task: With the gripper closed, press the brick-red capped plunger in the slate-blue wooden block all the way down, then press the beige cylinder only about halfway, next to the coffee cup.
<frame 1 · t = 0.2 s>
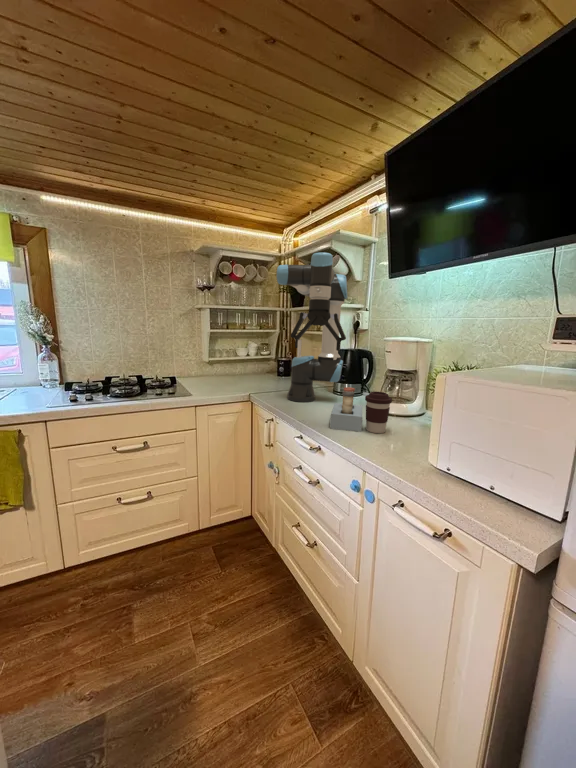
hand: (316, 358, 118), 28 cm above the worktop, fingers open, 13 cm apart
plunger red: (348, 398, 135), point 10 cm above the worktop, slide at 0.0 cm
beige cylinder: (347, 403, 127), point 10 cm above the worktop, slide at 0.0 cm
plunger block: (346, 423, 133), on the worktop
coffee cup: (375, 431, 125), on the worktop
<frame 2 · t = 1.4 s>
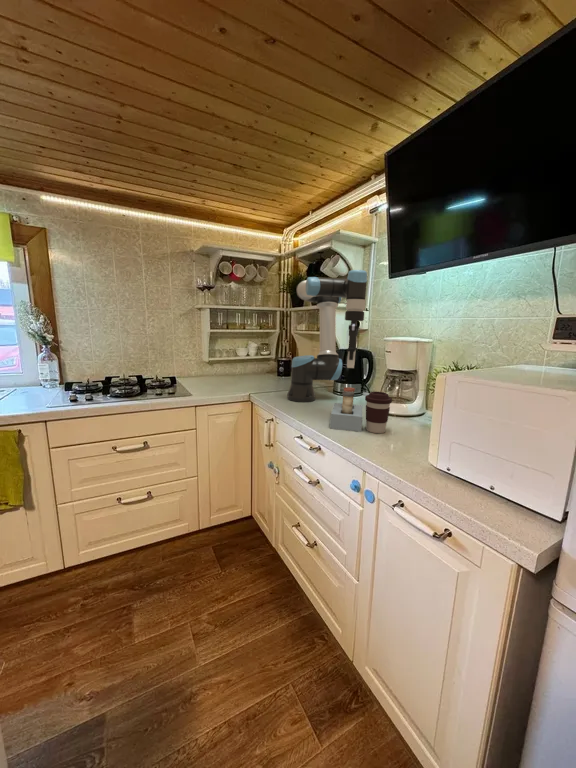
hand: (350, 366, 133), 23 cm above the worktop, fingers open, 9 cm apart
nothing on the worktop moved.
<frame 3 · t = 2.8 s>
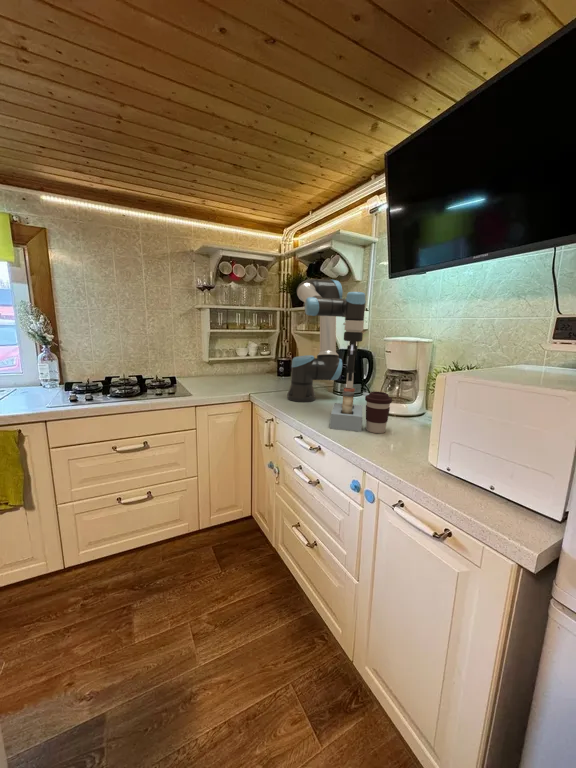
hand: (349, 388, 134), 14 cm above the worktop, fingers closed
plunger red: (348, 398, 135), point 9 cm above the worktop, slide at 0.1 cm, touching gripper
everything else where it was.
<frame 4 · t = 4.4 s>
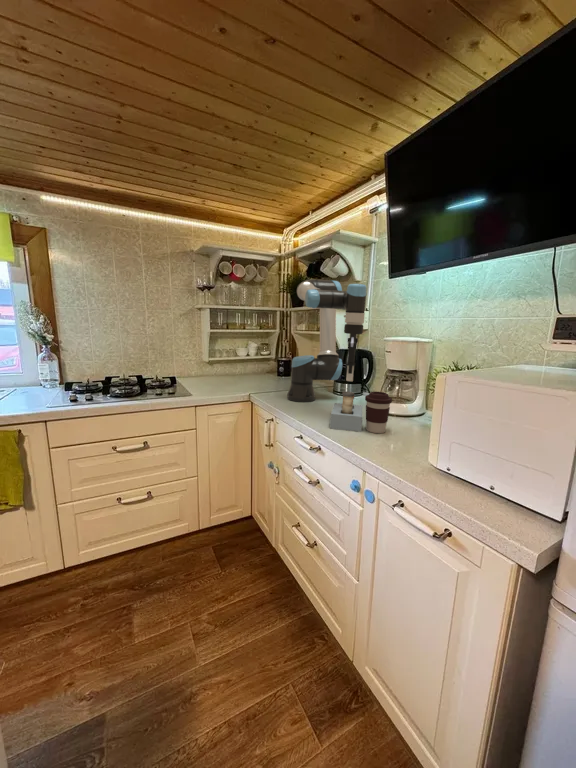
hand: (349, 380, 134), 17 cm above the worktop, fingers closed
plunger red: (348, 405, 136), point 6 cm above the worktop, slide at 3.1 cm
everything else where it was.
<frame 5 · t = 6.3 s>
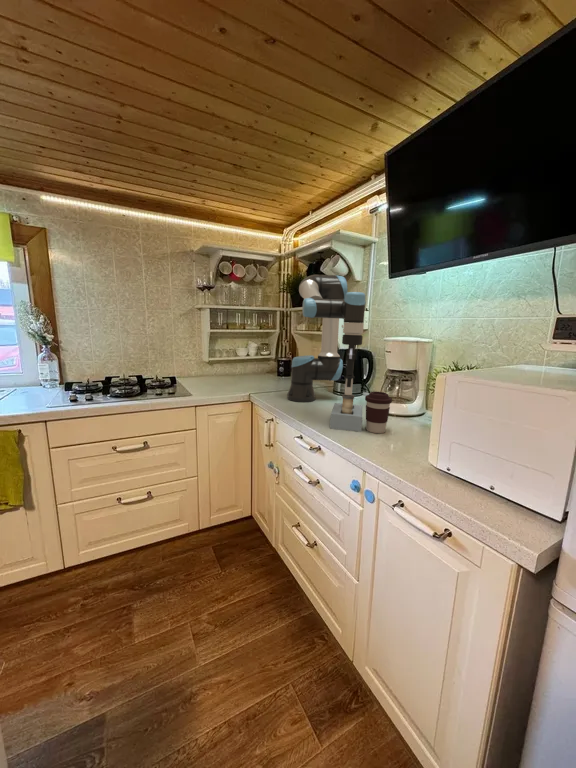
hand: (348, 394, 126), 13 cm above the worktop, fingers closed
beige cylinder: (347, 406, 127), point 9 cm above the worktop, slide at 1.0 cm, touching gripper
everything else where it was.
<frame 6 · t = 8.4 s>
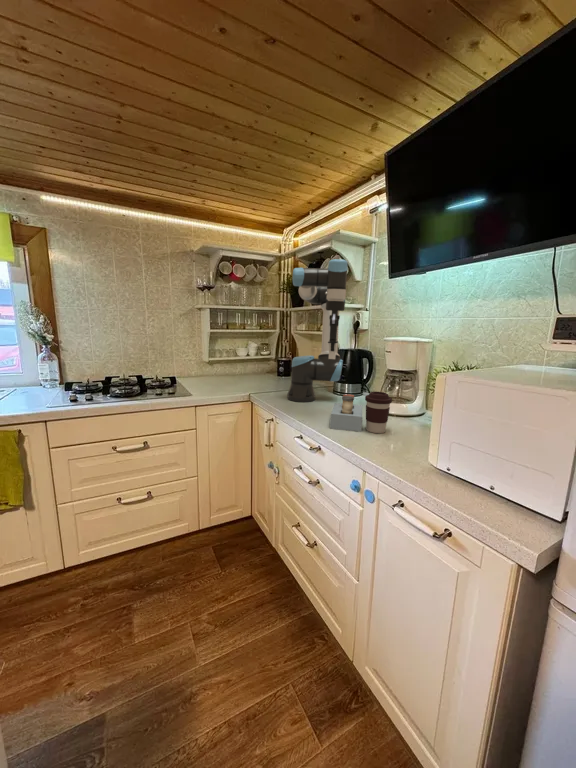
hand: (331, 358, 134), 26 cm above the worktop, fingers closed
beige cylinder: (347, 408, 127), point 8 cm above the worktop, slide at 1.8 cm
everything else where it was.
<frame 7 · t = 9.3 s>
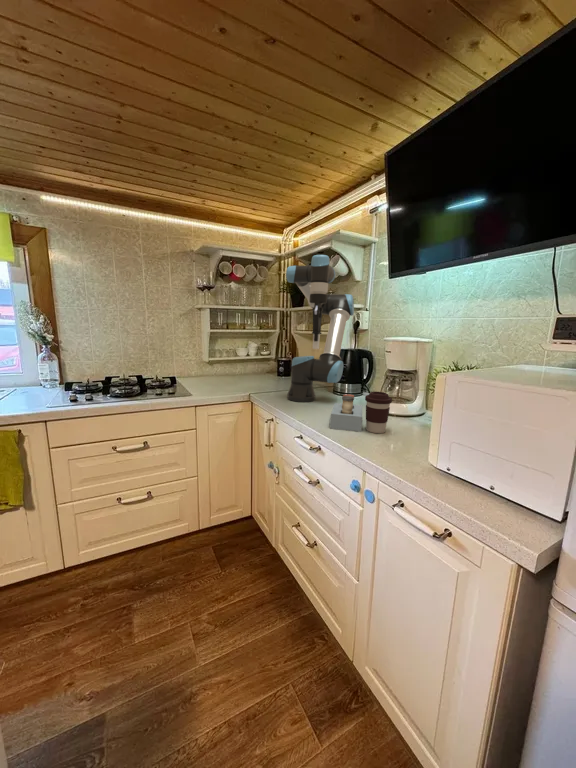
hand: (315, 348, 141), 29 cm above the worktop, fingers closed
nothing on the worktop moved.
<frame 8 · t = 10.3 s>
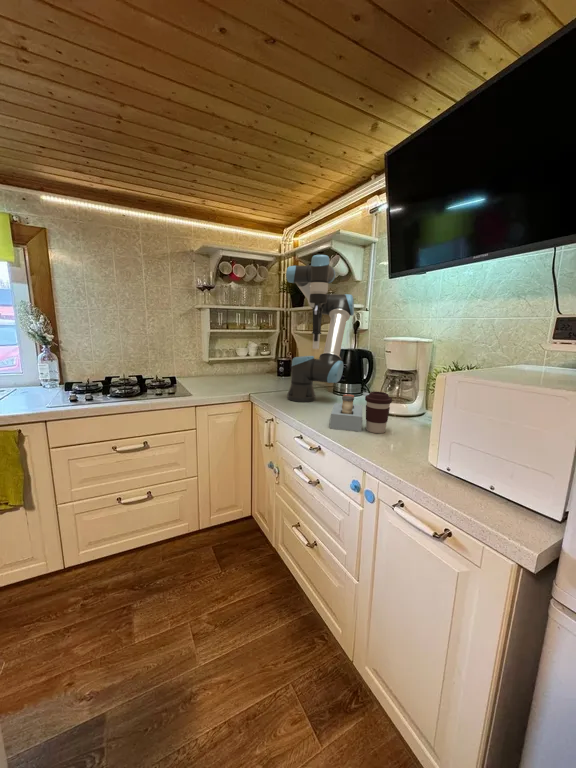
hand: (315, 348, 141), 29 cm above the worktop, fingers closed
nothing on the worktop moved.
at the end: plunger red slide at 3.1 cm; beige cylinder slide at 1.8 cm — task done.
